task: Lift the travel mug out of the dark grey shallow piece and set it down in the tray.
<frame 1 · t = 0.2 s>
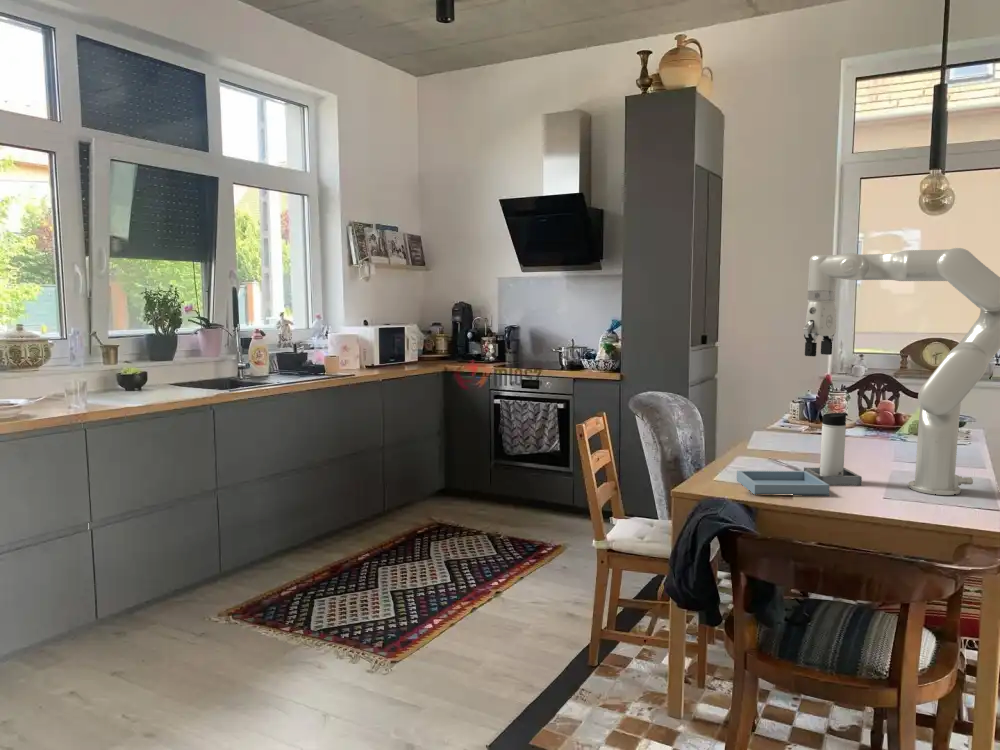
hand: (818, 355, 221), 36 cm above the table, tool pointing down, fingers open, 9 cm apart
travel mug: (831, 481, 217), resting in dark grey shallow piece
dark grey shallow piece: (831, 480, 217), on the table
tray: (780, 488, 209), on the table
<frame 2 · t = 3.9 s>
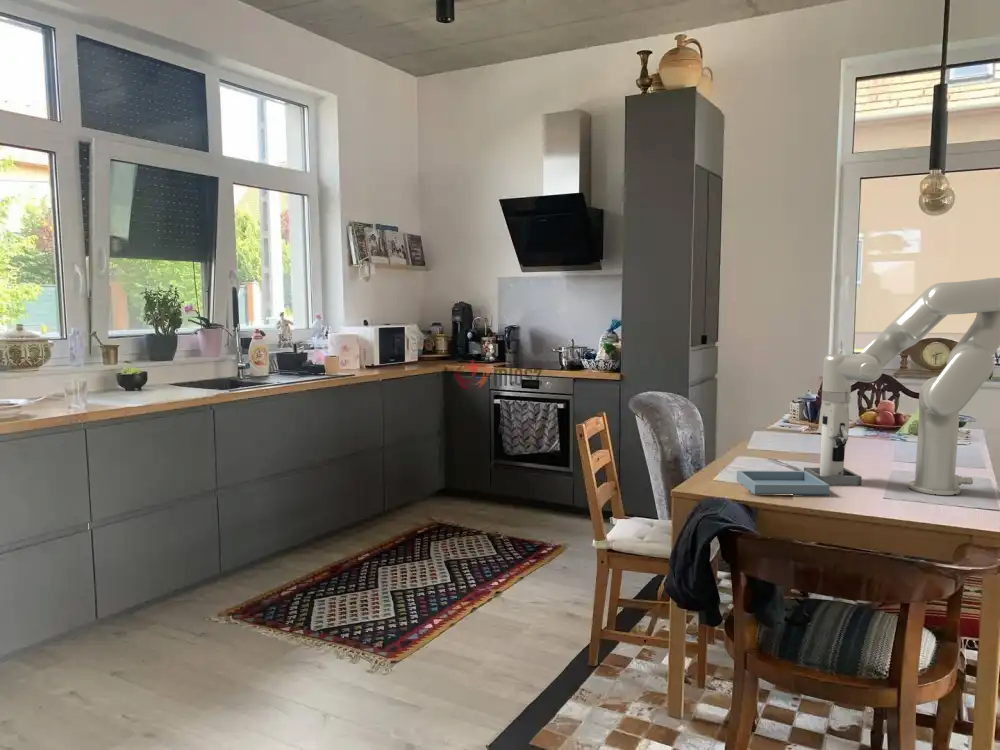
hand: (832, 458, 217), 7 cm above the table, tool pointing down, fingers closed on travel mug, 6 cm apart
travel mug: (831, 481, 217), resting in dark grey shallow piece, touching gripper
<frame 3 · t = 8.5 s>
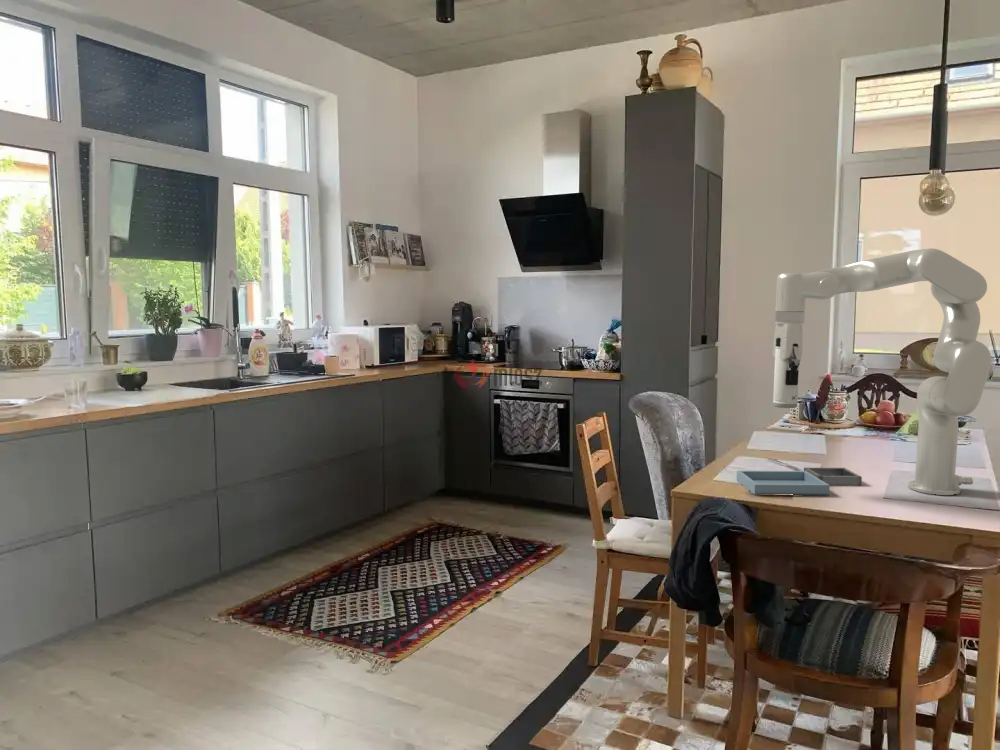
hand: (786, 382, 205), 30 cm above the table, tool pointing down, fingers closed on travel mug, 6 cm apart
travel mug: (785, 407, 206), point 23 cm above the table, touching gripper
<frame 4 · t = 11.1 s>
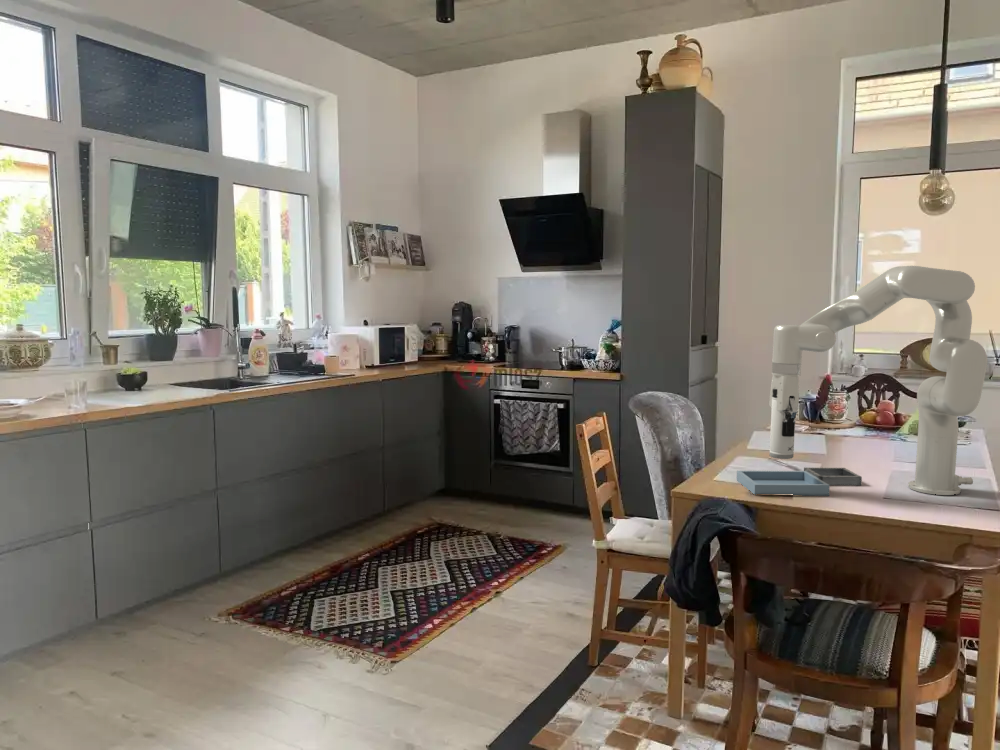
hand: (783, 433, 207), 16 cm above the table, tool pointing down, fingers closed on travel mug, 6 cm apart
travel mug: (781, 457, 208), point 9 cm above the table, touching gripper
when the fingers open (9 cm above the table, at t = 13.3 s): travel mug drops 2 cm, resting on tray.
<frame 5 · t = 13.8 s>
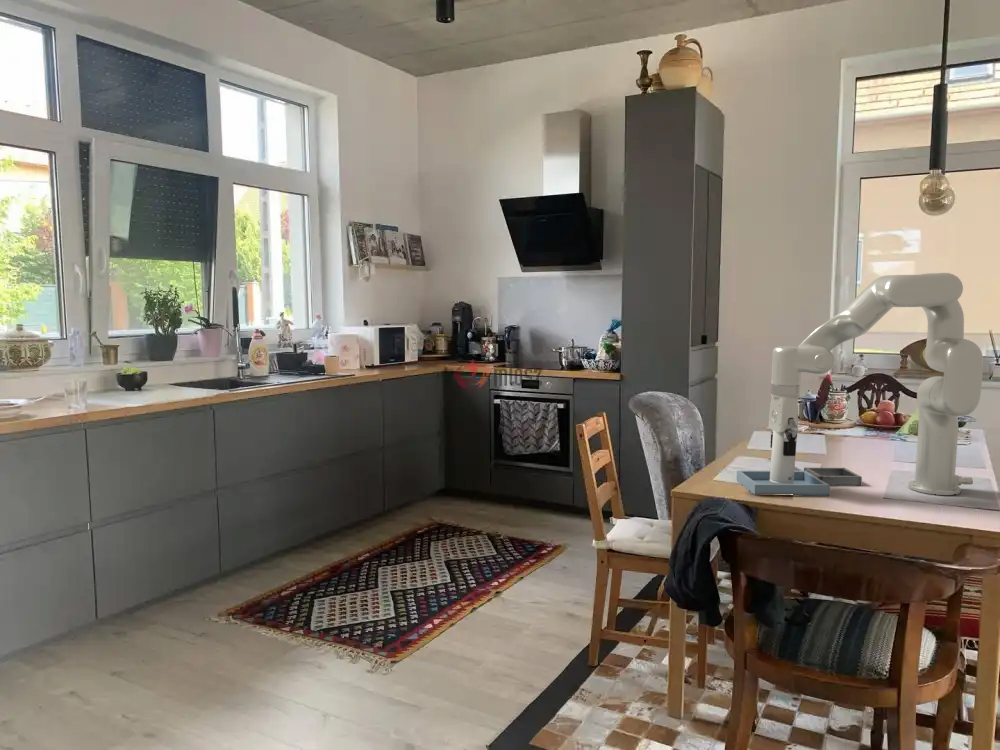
hand: (782, 451, 207), 10 cm above the table, tool pointing down, fingers open, 9 cm apart
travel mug: (781, 486, 208), resting on tray
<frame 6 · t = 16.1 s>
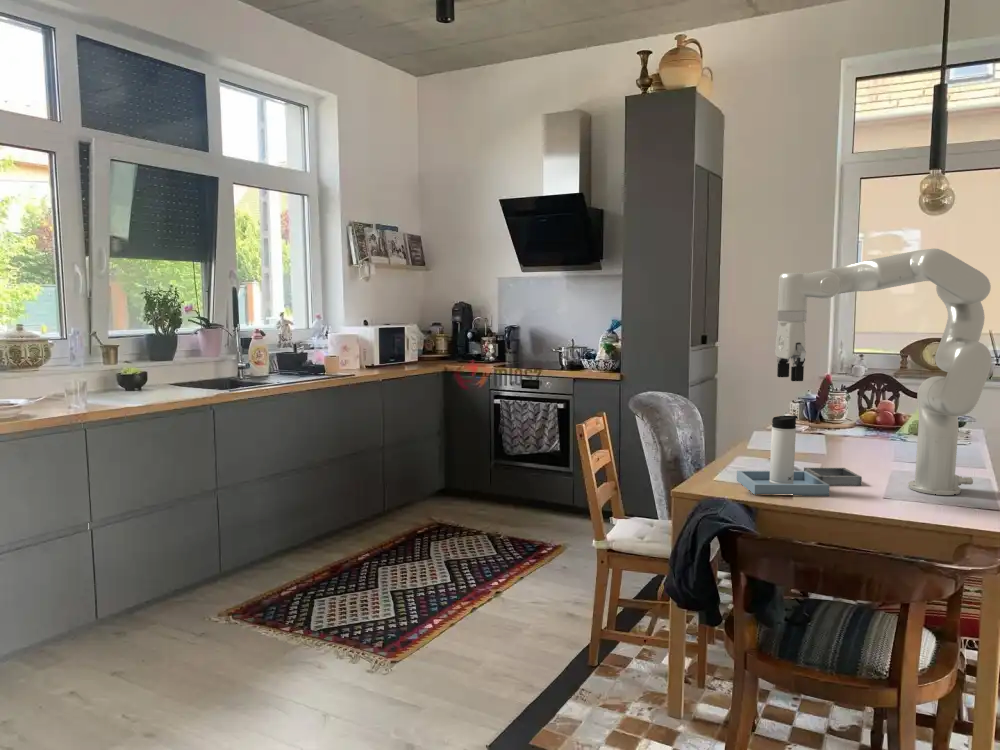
hand: (789, 379, 208), 30 cm above the table, tool pointing down, fingers open, 9 cm apart
nothing on the table moved.
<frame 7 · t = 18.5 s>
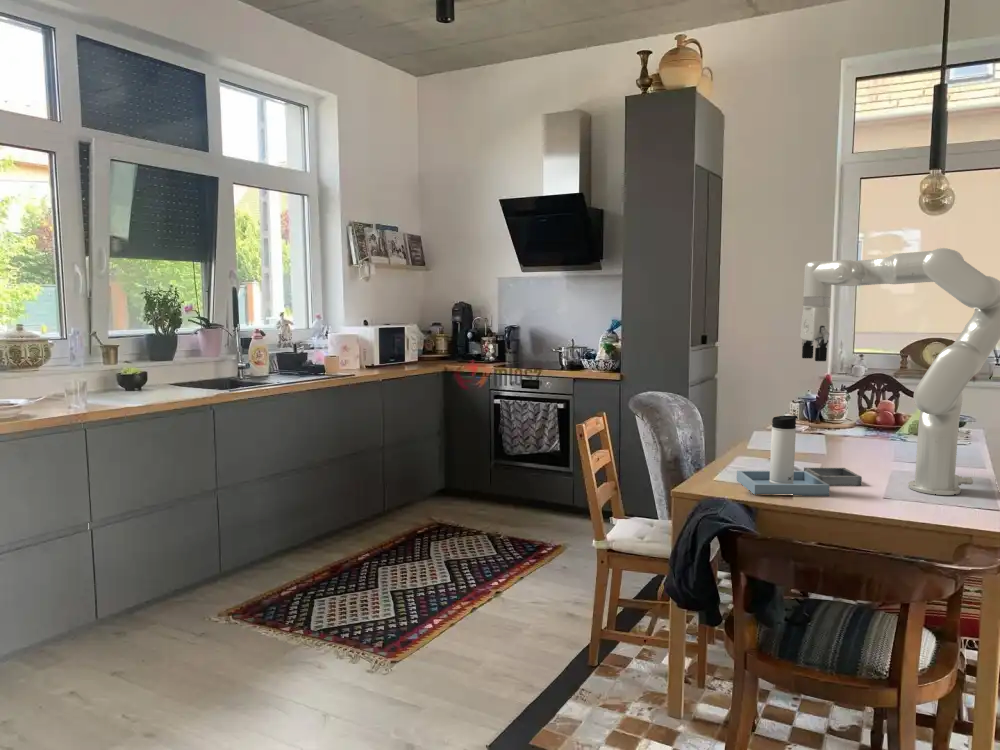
hand: (813, 359, 225), 34 cm above the table, tool pointing down, fingers open, 9 cm apart
nothing on the table moved.
at the end: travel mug inside the target area on the tray (0.2 cm from its centre), point 0.4 cm above the tray's base; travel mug tilted 0°; the gripper is holding nothing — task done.
